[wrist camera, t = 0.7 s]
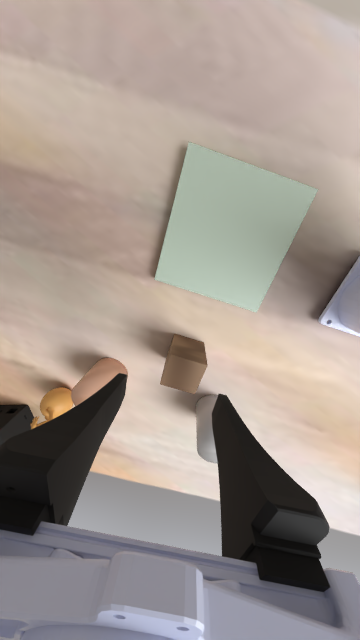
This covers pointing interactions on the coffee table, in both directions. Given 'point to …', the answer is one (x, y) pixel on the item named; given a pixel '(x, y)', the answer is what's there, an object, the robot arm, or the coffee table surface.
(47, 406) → the figurine
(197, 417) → the grey stone cylinder
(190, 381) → the walnut block
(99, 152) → the coffee table surface
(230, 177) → the sage board
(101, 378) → the pink rounded capsule
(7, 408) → the electronic device
